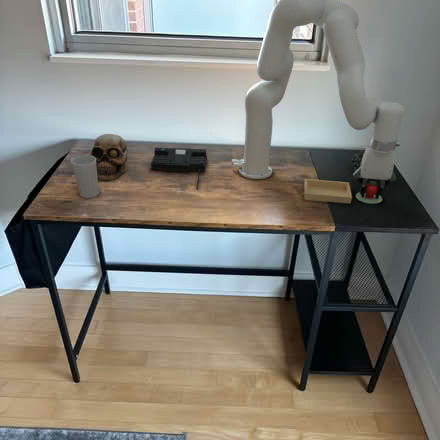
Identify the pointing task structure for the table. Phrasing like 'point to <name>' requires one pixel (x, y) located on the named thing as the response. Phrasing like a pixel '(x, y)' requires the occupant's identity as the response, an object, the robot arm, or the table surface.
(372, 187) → the strawberry
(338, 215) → the table surface
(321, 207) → the table surface
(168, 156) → the electronic device
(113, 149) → the brown skull
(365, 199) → the coaster
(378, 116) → the robot arm
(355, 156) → the fruit
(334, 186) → the tray
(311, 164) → the table surface
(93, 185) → the cup
